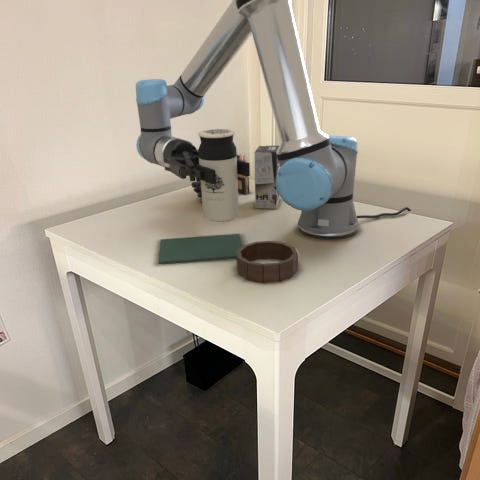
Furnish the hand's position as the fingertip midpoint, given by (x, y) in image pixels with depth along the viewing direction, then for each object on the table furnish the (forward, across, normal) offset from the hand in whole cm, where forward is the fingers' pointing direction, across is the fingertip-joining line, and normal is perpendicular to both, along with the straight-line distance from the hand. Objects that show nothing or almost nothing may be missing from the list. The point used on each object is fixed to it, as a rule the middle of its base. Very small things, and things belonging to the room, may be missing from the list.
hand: (231, 173), depth 99 cm
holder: (+8, -3, -20) cm, 22 cm away
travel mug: (-5, 0, -11) cm, 12 cm away
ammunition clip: (-46, -33, -20) cm, 60 cm away
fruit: (-40, -21, -20) cm, 50 cm away
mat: (-12, +2, -20) cm, 23 cm away
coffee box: (-28, -32, -20) cm, 47 cm away
